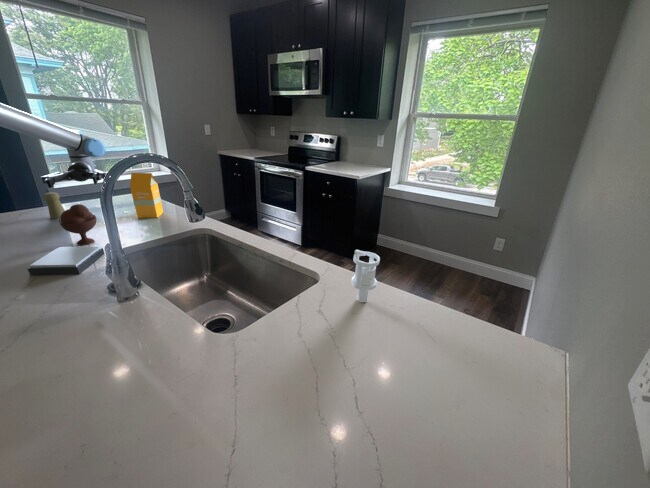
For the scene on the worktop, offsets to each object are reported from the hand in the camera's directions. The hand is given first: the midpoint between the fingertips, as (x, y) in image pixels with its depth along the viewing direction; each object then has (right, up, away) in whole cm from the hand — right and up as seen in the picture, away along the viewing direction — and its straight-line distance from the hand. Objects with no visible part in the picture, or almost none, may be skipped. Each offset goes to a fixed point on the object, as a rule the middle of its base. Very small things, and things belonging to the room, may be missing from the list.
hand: (72, 182), depth 112 cm
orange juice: (+12, -10, +30) cm, 34 cm away
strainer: (+106, -40, -26) cm, 116 cm away
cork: (-27, -11, +24) cm, 38 cm away
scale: (+11, -30, -13) cm, 34 cm away
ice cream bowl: (+4, -23, +1) cm, 23 cm away
